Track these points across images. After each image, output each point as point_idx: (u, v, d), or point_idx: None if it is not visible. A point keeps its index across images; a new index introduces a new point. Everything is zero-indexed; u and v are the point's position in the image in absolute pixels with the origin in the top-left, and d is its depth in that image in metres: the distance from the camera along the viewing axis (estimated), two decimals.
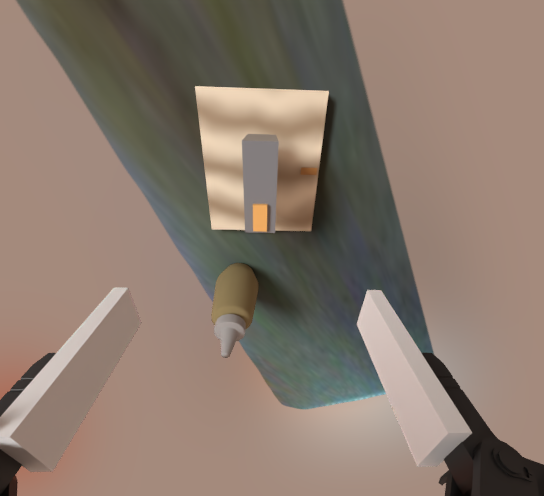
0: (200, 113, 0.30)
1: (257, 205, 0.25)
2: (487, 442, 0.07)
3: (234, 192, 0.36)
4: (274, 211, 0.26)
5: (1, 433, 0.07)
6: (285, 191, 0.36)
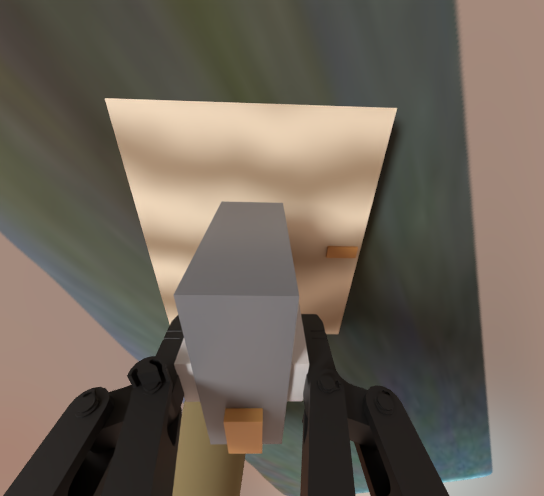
0: (125, 153, 0.15)
1: (236, 420, 0.09)
2: (314, 375, 0.09)
3: None
4: (281, 417, 0.10)
5: (186, 362, 0.09)
6: (297, 281, 0.20)
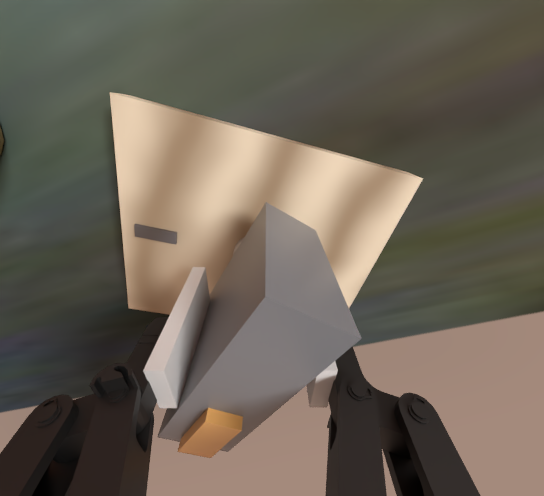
0: (382, 172, 0.15)
1: (217, 422, 0.09)
2: (344, 380, 0.08)
3: (216, 191, 0.16)
4: (250, 429, 0.10)
5: (156, 368, 0.08)
6: (209, 281, 0.20)
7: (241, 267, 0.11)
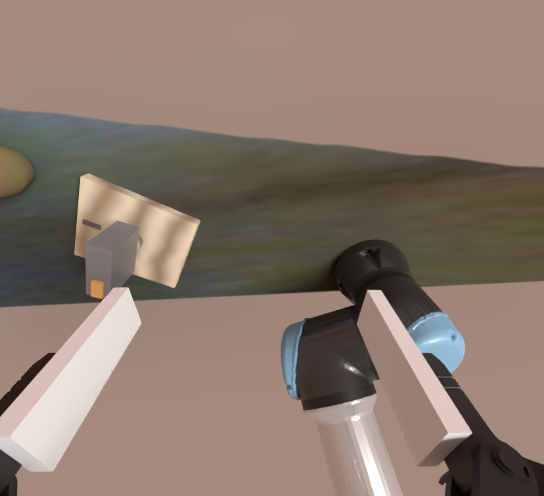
0: (181, 219, 0.42)
1: (94, 282, 0.35)
2: (487, 442, 0.07)
3: (118, 213, 0.41)
4: (109, 287, 0.36)
5: (1, 433, 0.07)
6: None
7: None
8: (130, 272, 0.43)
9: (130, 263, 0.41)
